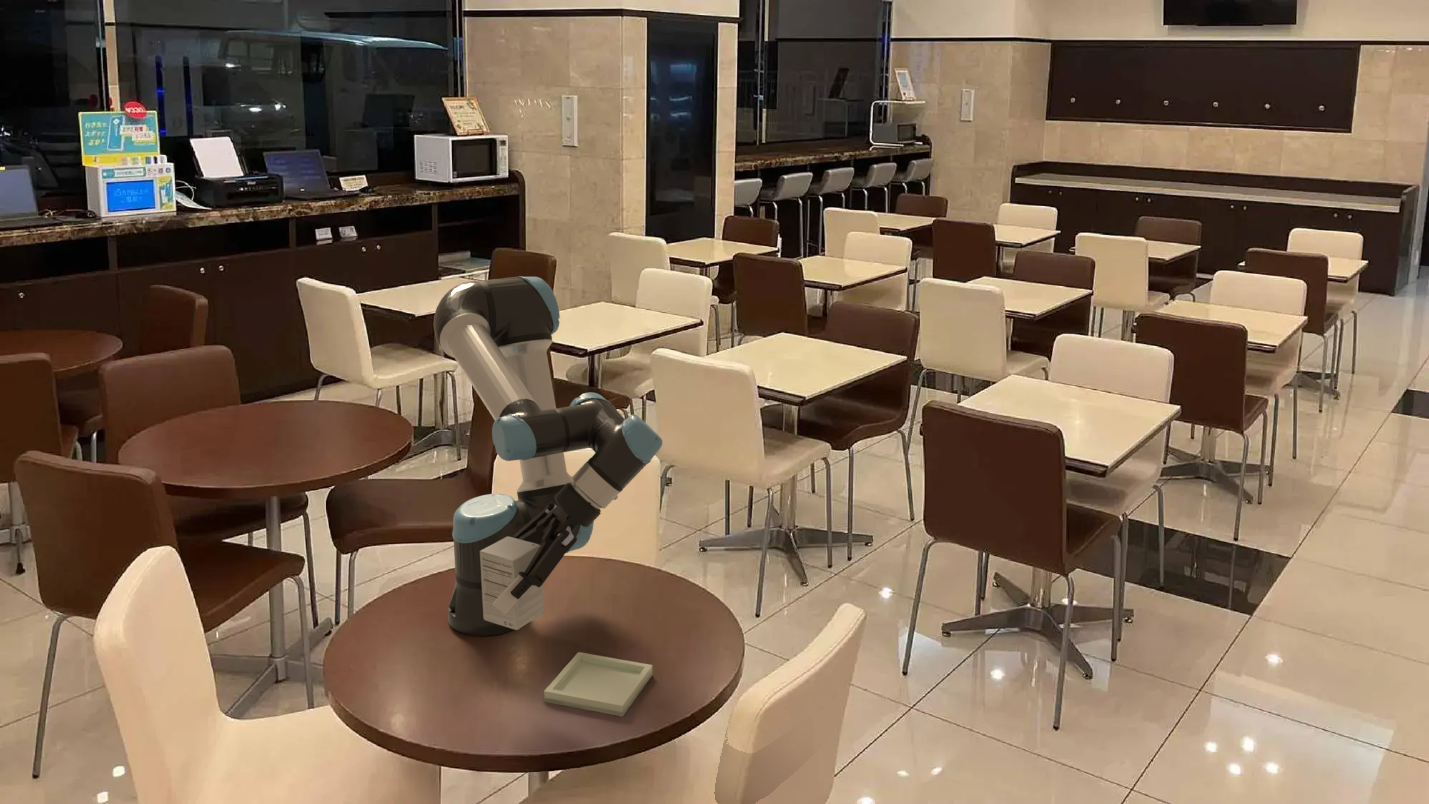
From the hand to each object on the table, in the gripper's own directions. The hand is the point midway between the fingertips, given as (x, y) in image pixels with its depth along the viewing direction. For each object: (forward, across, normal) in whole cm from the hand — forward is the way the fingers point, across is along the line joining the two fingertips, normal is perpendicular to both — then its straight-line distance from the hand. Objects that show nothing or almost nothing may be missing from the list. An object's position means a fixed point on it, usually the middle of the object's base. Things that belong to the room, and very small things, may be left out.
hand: (494, 594), depth 194 cm
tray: (+1, -4, -24) cm, 25 cm away
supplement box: (+1, 0, -6) cm, 6 cm away
